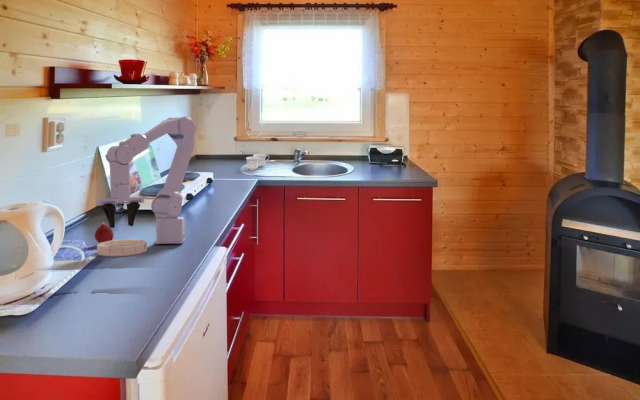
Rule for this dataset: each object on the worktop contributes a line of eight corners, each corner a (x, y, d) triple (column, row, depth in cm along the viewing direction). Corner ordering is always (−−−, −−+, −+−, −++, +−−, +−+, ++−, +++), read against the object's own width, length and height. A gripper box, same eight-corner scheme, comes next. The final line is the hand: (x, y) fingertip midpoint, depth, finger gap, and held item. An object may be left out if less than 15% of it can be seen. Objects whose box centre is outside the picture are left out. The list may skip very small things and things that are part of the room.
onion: (116, 244, 168) (115, 221, 168) (109, 247, 163) (108, 223, 162) (99, 244, 168) (98, 221, 168) (92, 247, 163) (91, 223, 162)
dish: (151, 247, 164) (151, 238, 163) (141, 255, 149) (141, 246, 149) (104, 248, 161) (104, 239, 161) (90, 257, 147) (89, 248, 146)
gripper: (136, 182, 161) (138, 223, 162) (91, 184, 151) (93, 227, 152) (146, 183, 156) (147, 225, 157) (100, 185, 146) (102, 229, 147)
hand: (121, 226), depth 154 cm, fingers open, 5 cm apart
